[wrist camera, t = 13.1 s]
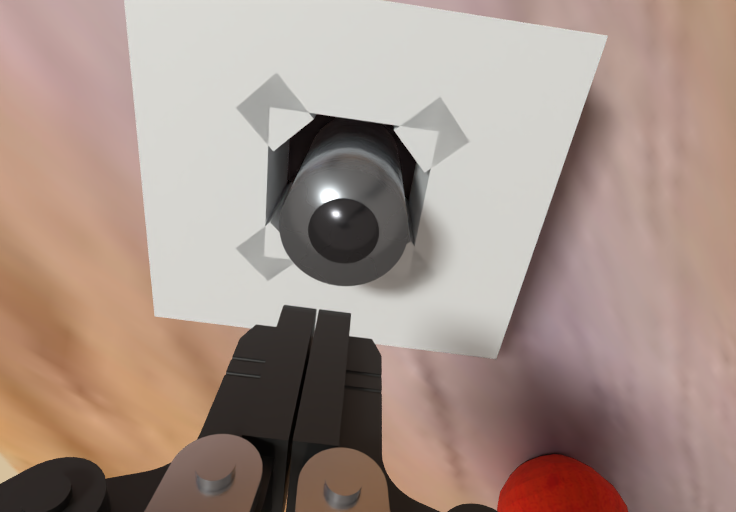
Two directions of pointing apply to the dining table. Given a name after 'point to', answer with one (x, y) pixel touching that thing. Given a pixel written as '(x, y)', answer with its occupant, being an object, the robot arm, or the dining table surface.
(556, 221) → the dining table surface
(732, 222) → the dining table surface
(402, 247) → the dark grey cylinder
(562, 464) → the apple
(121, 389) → the dining table surface
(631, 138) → the dining table surface
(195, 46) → the jig
